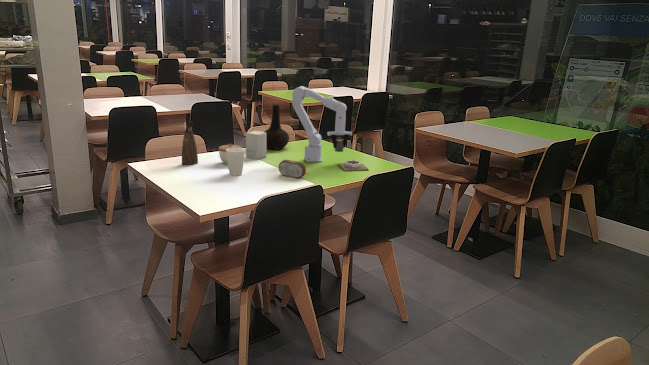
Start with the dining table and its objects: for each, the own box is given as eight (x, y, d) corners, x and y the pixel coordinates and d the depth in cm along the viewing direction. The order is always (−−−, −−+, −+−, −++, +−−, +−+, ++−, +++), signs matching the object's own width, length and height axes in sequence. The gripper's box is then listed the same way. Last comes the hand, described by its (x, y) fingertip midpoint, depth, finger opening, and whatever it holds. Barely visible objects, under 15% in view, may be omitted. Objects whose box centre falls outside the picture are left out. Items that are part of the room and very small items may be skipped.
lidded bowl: (214, 164, 268) (214, 144, 265) (227, 159, 280) (226, 140, 276) (234, 167, 264) (233, 147, 261) (246, 162, 275) (245, 143, 272)
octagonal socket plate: (344, 171, 265) (344, 165, 264) (337, 164, 278) (337, 159, 277) (368, 170, 268) (369, 165, 268) (360, 163, 281) (360, 158, 280)
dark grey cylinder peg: (336, 151, 278) (336, 141, 276) (333, 149, 283) (334, 139, 281) (344, 151, 279) (344, 141, 277) (341, 149, 284) (342, 139, 282)
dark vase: (257, 150, 305) (257, 105, 297) (265, 144, 322) (265, 102, 314) (285, 152, 302) (285, 107, 294) (291, 146, 319) (292, 103, 311)
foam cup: (229, 177, 245) (229, 152, 241) (224, 172, 252) (223, 148, 249) (247, 175, 249) (247, 151, 245) (241, 171, 257) (241, 147, 253)
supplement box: (267, 157, 288) (267, 132, 284) (257, 159, 281) (257, 134, 277) (255, 154, 293) (255, 130, 288) (245, 157, 285) (245, 132, 281)
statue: (194, 166, 262) (190, 120, 255) (180, 166, 262) (176, 120, 255) (199, 162, 270) (195, 118, 263) (186, 162, 270) (182, 117, 264)
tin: (305, 178, 249) (306, 162, 247) (303, 179, 246) (303, 163, 244) (280, 173, 255) (280, 158, 252) (277, 175, 252) (277, 159, 250)
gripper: (330, 125, 271) (328, 149, 275) (354, 125, 275) (353, 148, 278) (326, 123, 277) (325, 146, 281) (350, 123, 281) (349, 146, 285)
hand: (339, 147), depth 280 cm, fingers closed on dark grey cylinder peg, 5 cm apart
